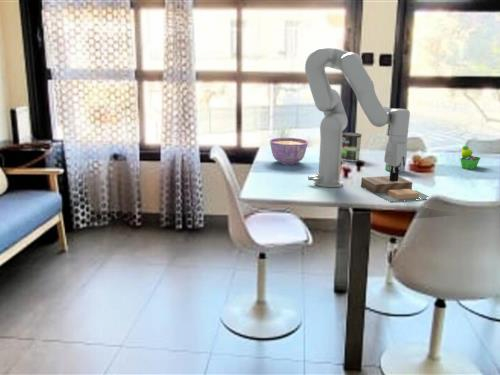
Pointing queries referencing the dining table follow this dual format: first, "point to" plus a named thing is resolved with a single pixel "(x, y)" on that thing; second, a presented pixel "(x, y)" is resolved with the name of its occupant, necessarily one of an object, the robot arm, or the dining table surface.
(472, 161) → the fruit basket
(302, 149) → the bowl of food
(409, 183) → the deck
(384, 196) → the mat
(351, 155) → the coffee can
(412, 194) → the tile
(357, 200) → the dining table surface
